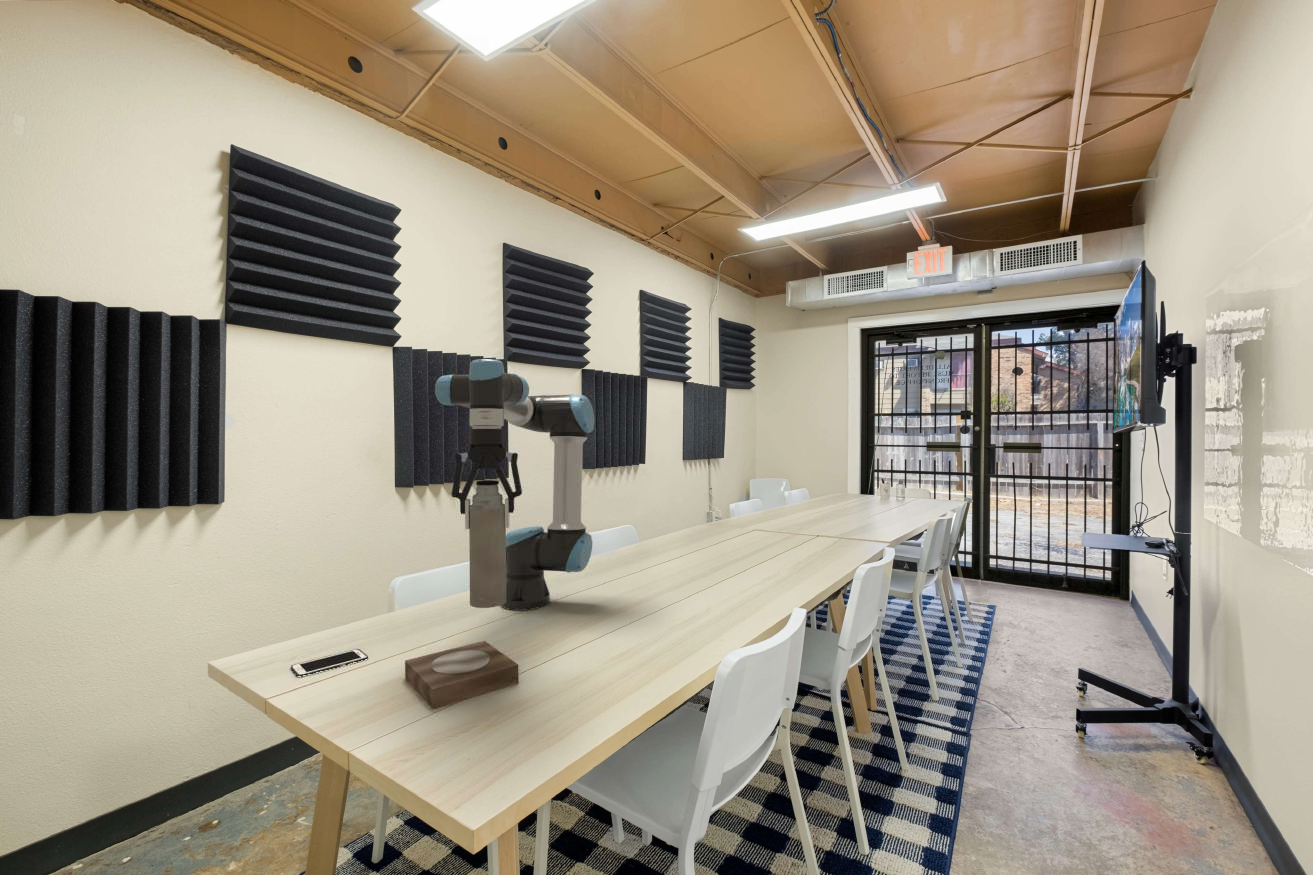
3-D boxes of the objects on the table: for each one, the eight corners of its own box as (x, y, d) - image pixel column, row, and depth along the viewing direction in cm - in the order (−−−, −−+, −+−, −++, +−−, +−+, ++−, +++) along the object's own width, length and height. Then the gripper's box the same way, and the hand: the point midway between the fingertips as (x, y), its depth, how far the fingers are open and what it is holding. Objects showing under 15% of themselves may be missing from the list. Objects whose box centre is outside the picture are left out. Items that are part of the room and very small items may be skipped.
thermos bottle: (478, 597, 137) (477, 479, 136) (511, 598, 136) (510, 479, 136) (463, 607, 129) (463, 481, 128) (498, 608, 128) (498, 481, 128)
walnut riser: (405, 678, 126) (404, 659, 126) (484, 657, 138) (484, 639, 138) (432, 709, 112) (432, 687, 112) (518, 682, 124) (518, 663, 124)
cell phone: (289, 669, 133) (289, 665, 133) (358, 651, 143) (358, 647, 143) (298, 679, 127) (298, 675, 127) (369, 660, 137) (369, 656, 137)
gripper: (435, 427, 127) (436, 532, 127) (532, 427, 130) (533, 528, 130) (442, 428, 134) (443, 526, 134) (534, 428, 137) (534, 523, 138)
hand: (487, 527), depth 132 cm, fingers closed on thermos bottle, 8 cm apart
